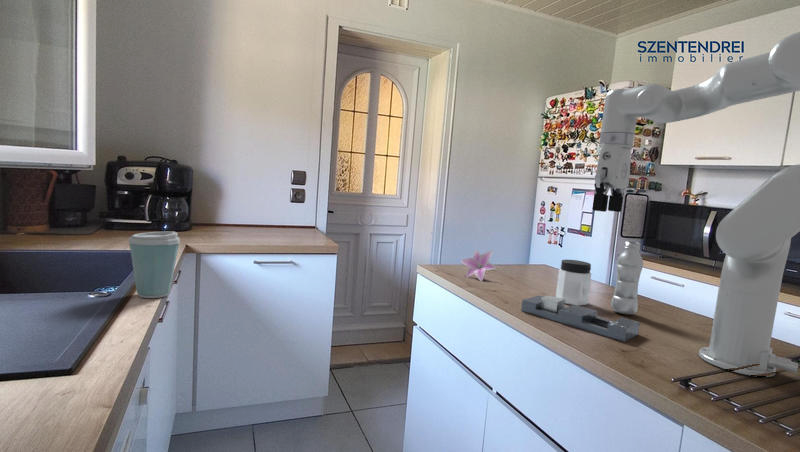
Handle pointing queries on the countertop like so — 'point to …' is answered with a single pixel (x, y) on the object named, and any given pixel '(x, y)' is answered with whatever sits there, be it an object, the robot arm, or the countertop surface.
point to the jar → (574, 282)
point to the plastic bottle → (627, 279)
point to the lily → (478, 264)
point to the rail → (584, 320)
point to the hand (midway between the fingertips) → (607, 211)
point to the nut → (552, 304)
